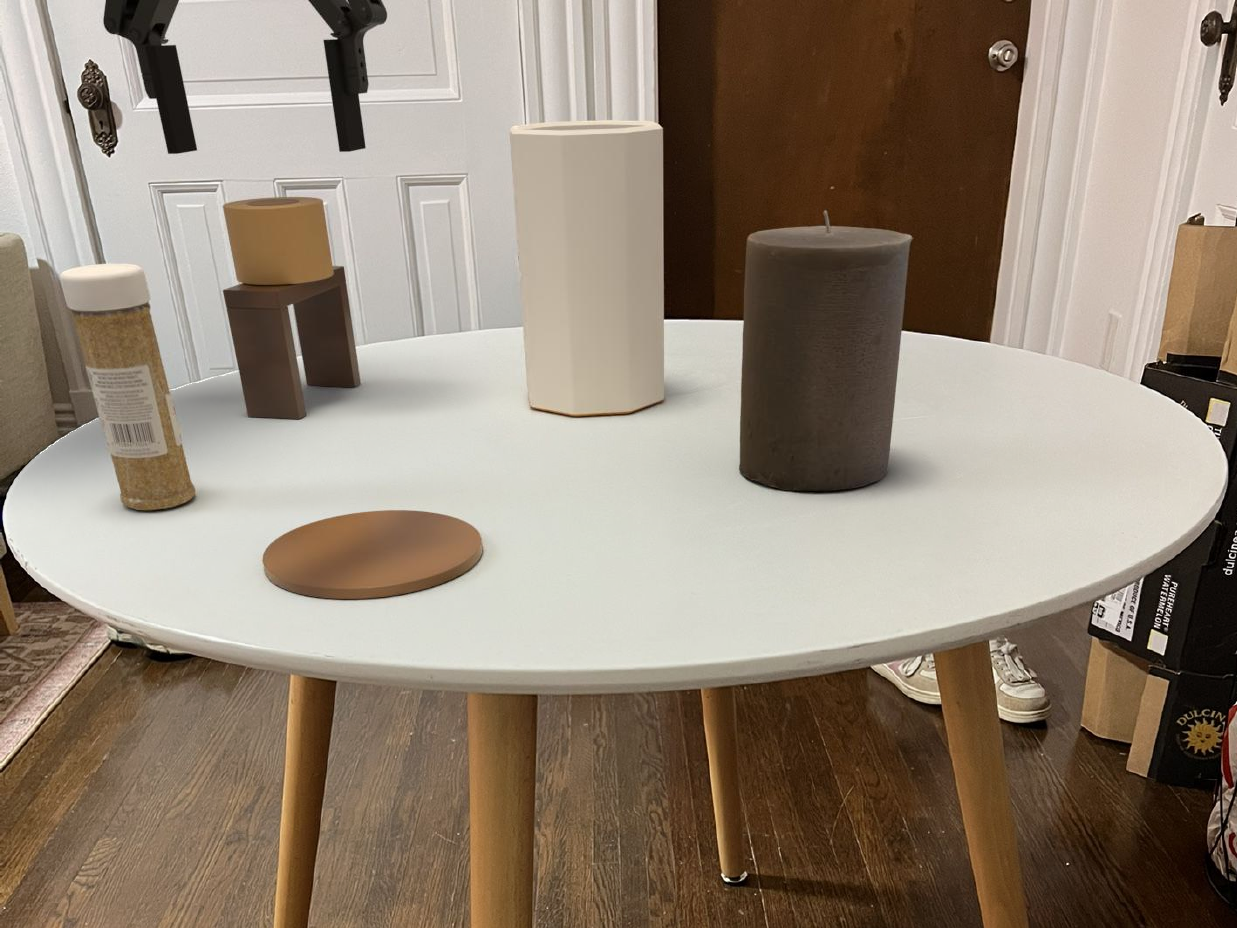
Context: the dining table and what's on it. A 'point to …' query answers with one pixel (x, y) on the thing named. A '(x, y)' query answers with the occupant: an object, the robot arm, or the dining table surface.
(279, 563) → the cork mat
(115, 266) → the spice jar
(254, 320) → the brown arch block
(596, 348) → the cream faceted vase
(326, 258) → the tape roll
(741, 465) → the pillar candle
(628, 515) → the dining table surface
